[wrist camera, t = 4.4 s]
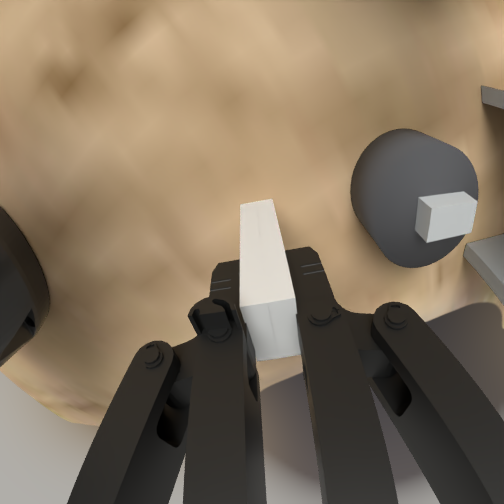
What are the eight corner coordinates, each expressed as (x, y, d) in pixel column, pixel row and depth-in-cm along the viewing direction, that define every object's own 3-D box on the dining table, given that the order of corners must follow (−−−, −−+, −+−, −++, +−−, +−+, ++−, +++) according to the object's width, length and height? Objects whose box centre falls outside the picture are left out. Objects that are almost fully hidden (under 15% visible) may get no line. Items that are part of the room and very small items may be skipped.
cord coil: (350, 243, 17) (378, 294, 13) (345, 131, 13) (387, 154, 9) (438, 226, 16) (475, 266, 12) (446, 128, 12) (499, 151, 8)
